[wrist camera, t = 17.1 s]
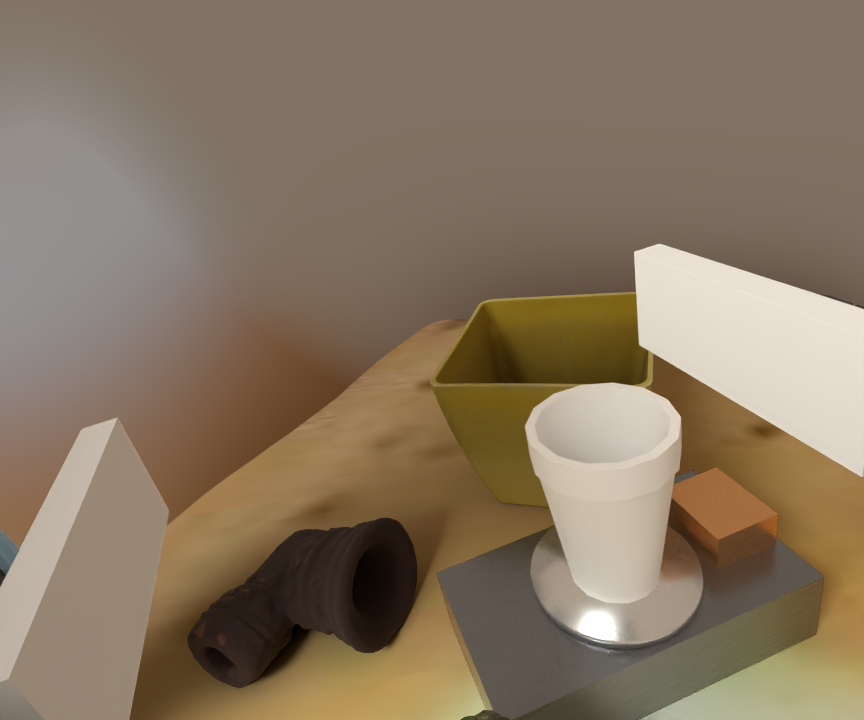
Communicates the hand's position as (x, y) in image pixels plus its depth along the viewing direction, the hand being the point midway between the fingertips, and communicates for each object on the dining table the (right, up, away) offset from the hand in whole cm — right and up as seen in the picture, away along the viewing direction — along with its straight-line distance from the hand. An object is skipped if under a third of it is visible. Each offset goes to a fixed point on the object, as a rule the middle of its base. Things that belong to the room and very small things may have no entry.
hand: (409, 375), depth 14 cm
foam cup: (+14, -15, +28) cm, 35 cm away
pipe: (-9, -24, +38) cm, 45 cm away
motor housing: (+15, -21, +31) cm, 40 cm away
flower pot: (+15, -12, +49) cm, 52 cm away
